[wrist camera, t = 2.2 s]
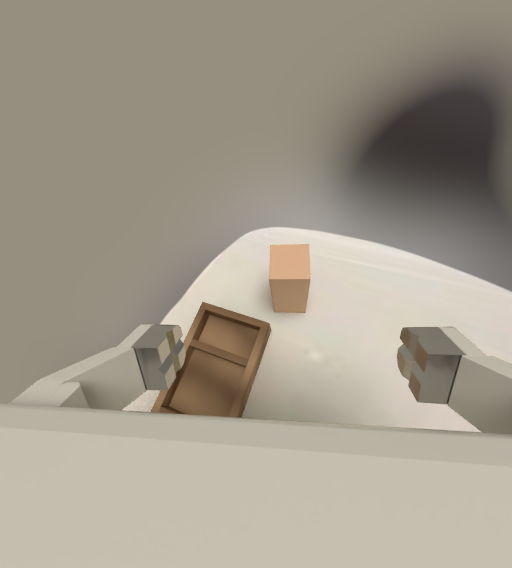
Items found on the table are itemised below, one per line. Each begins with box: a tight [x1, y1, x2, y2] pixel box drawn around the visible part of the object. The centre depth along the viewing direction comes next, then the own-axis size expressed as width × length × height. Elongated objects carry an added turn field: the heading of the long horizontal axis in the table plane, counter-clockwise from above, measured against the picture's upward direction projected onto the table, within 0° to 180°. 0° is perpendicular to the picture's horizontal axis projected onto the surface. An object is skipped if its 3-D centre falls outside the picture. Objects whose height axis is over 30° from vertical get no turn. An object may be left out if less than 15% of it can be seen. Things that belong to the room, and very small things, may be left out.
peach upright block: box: [269, 244, 310, 313], centre depth 30 cm, size 4×4×10 cm
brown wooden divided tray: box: [151, 302, 271, 418], centre depth 29 cm, size 18×9×3 cm, turn 160°
